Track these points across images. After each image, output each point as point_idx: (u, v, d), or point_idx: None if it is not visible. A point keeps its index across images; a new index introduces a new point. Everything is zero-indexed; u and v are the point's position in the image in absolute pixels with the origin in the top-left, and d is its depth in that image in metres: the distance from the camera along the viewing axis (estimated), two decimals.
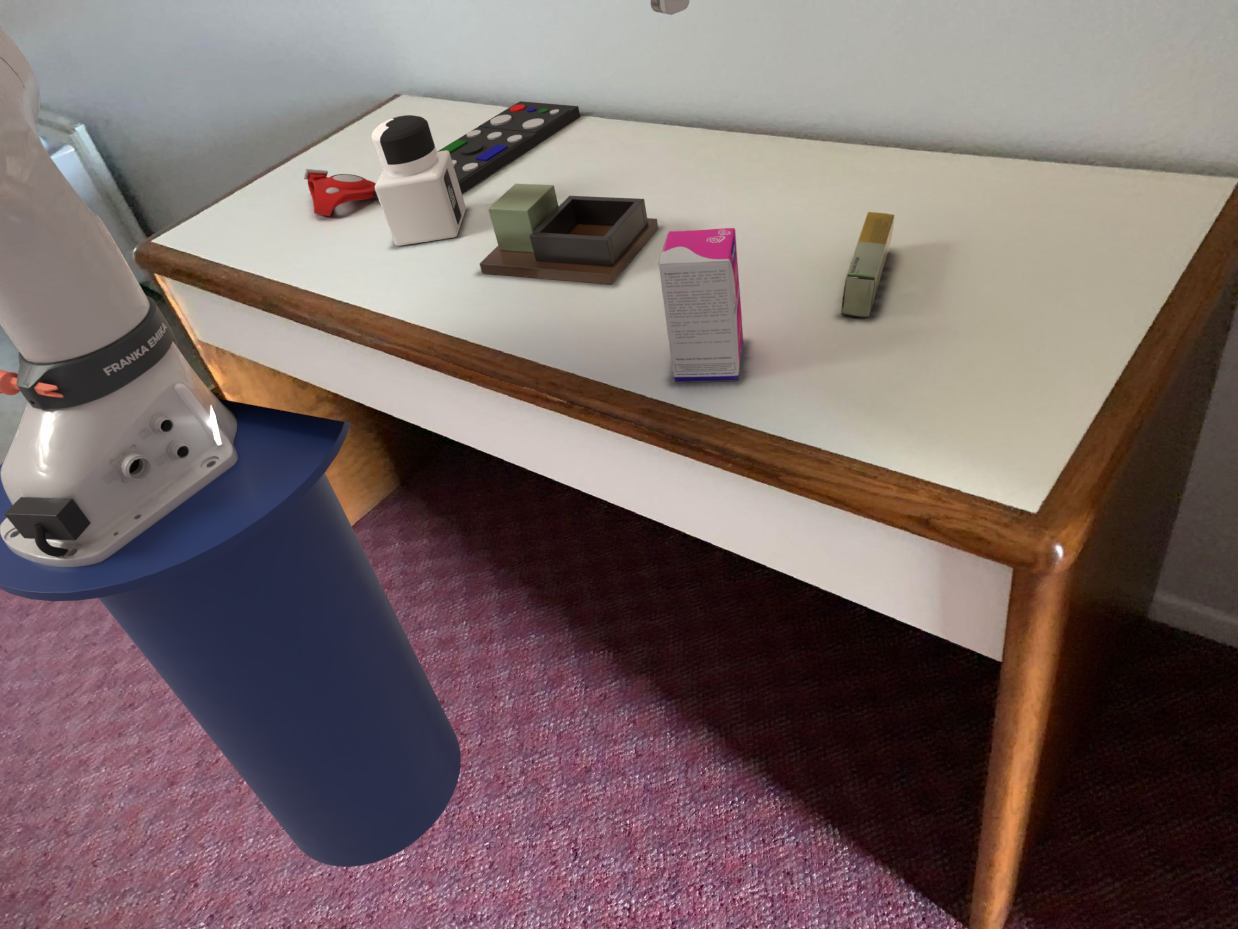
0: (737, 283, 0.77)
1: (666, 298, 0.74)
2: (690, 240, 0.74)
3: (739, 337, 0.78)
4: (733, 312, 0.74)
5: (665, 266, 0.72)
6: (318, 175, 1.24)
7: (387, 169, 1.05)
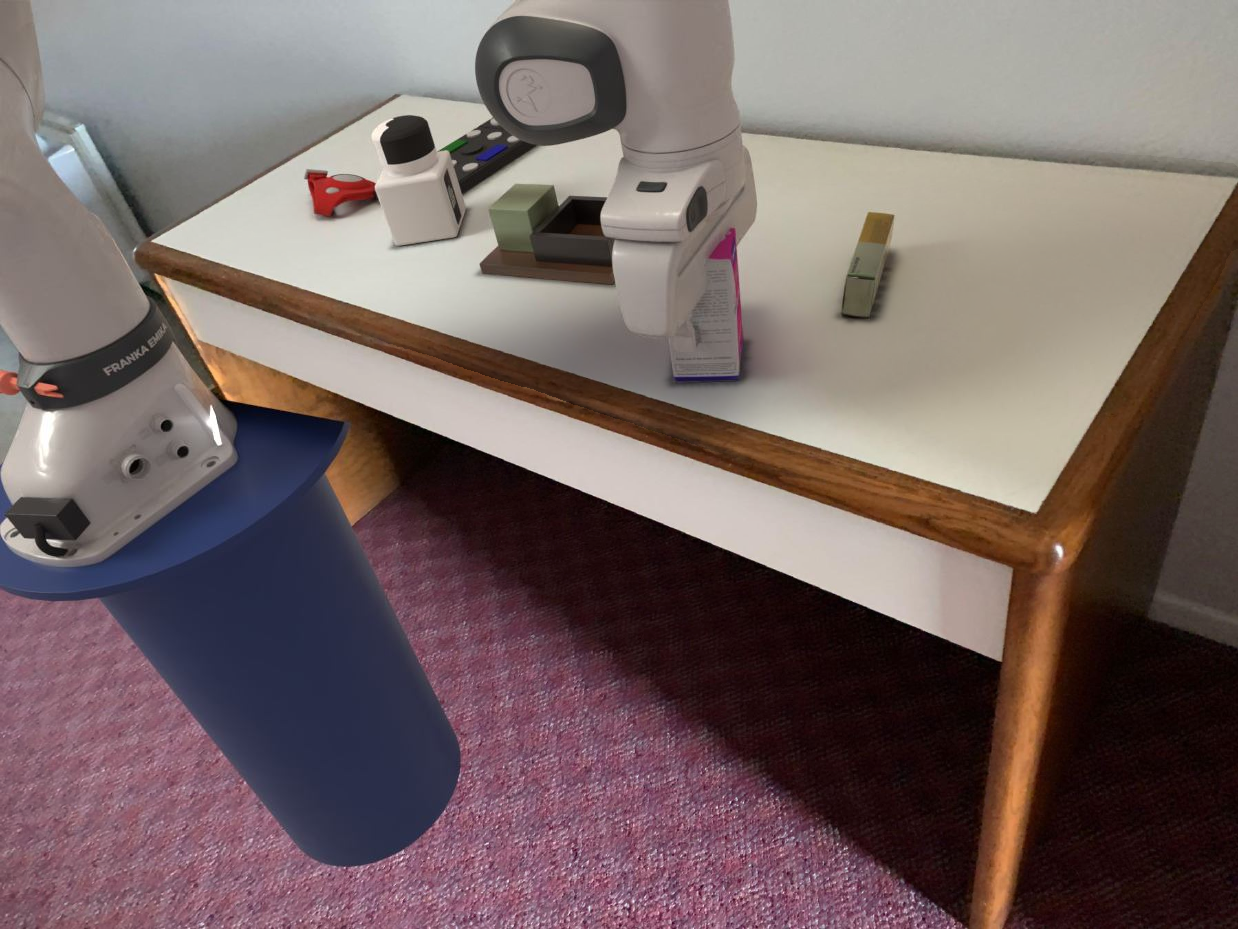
0: (737, 283, 0.77)
1: None
2: None
3: (739, 337, 0.78)
4: (733, 312, 0.74)
5: None
6: (318, 175, 1.24)
7: (387, 169, 1.05)
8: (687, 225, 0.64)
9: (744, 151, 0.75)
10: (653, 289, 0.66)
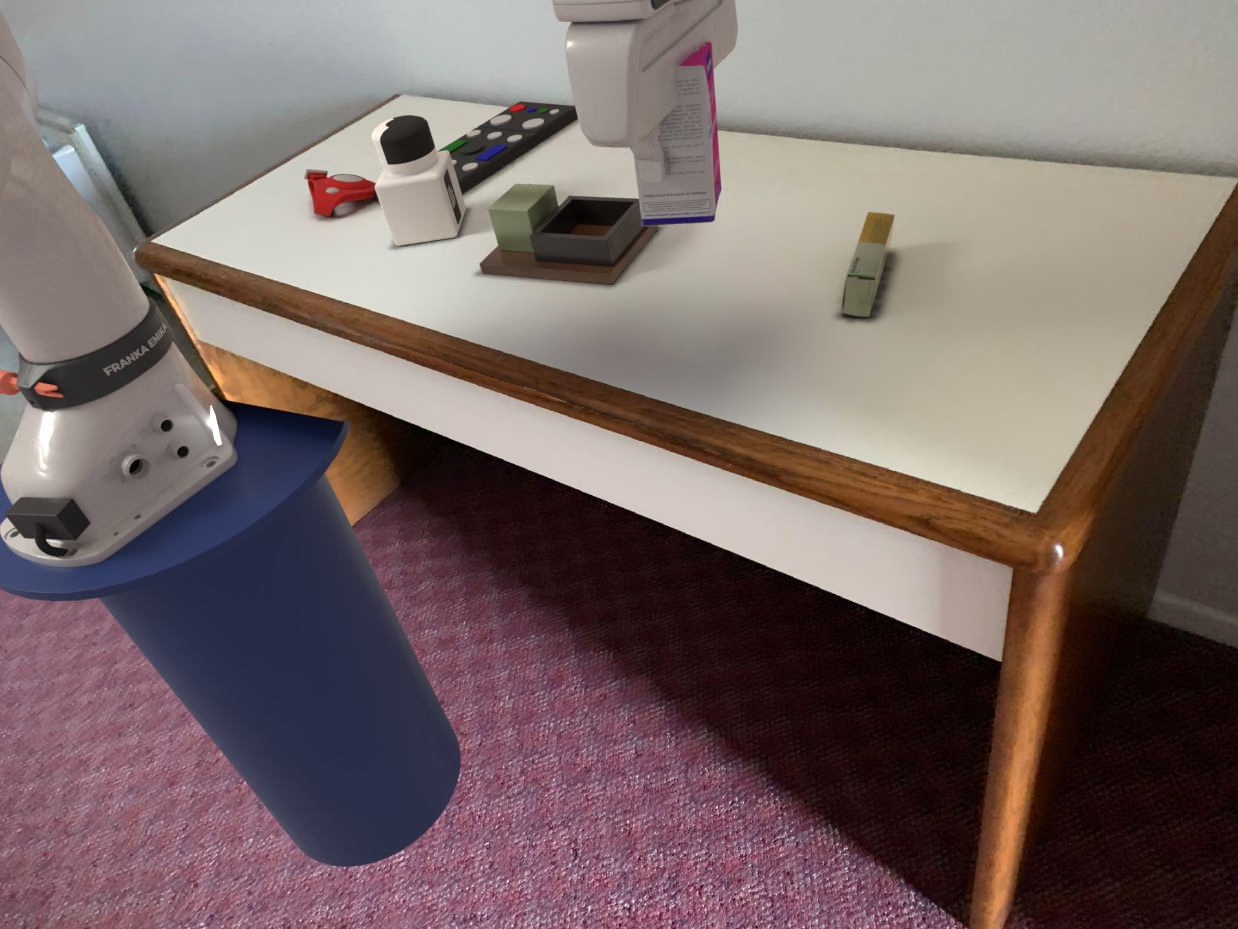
0: (713, 108, 0.68)
1: None
2: None
3: (715, 173, 0.69)
4: (708, 134, 0.65)
5: None
6: (318, 175, 1.24)
7: (387, 169, 1.05)
8: None
9: None
10: (612, 80, 0.57)
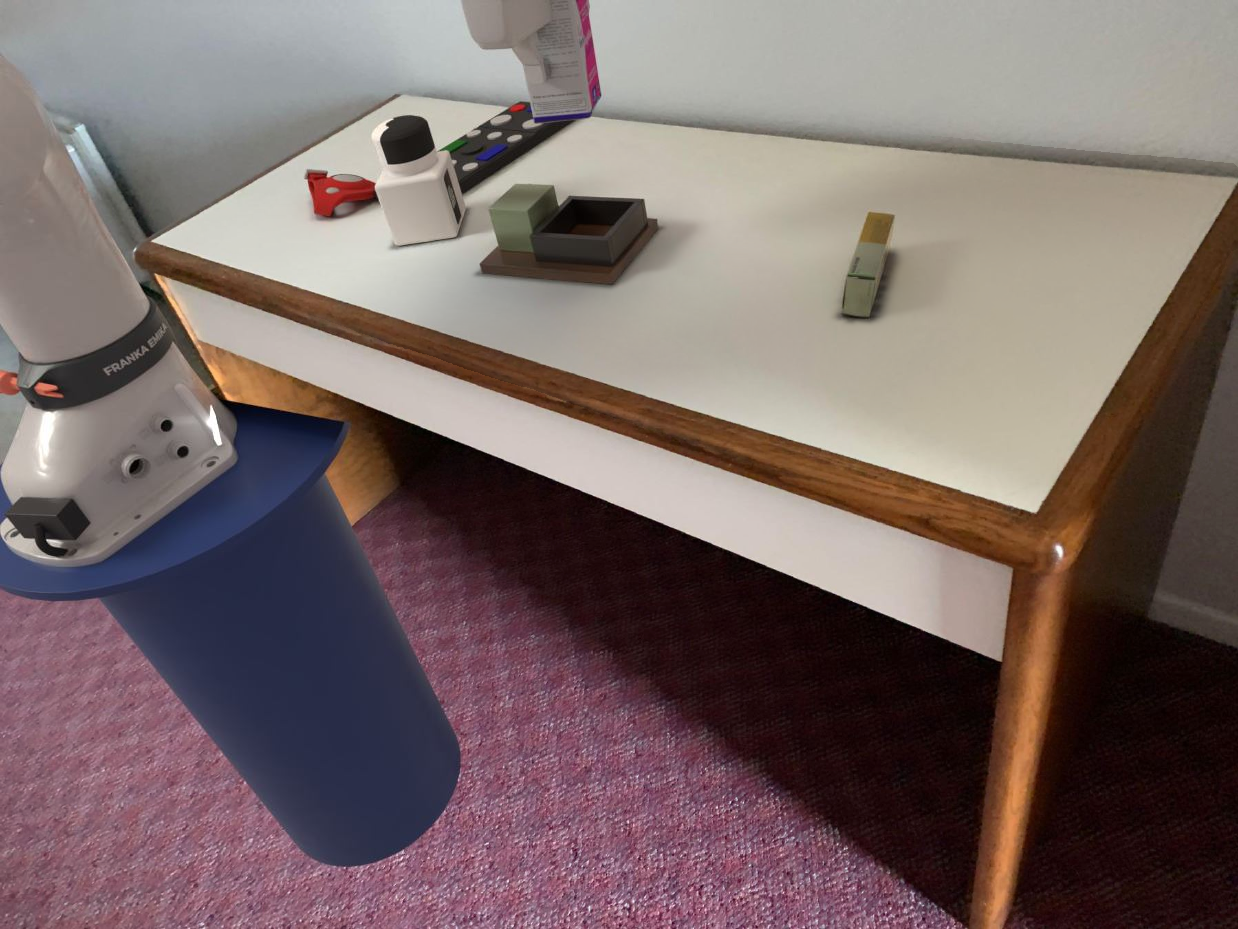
0: (586, 25, 0.85)
1: None
2: None
3: (591, 78, 0.86)
4: (578, 43, 0.82)
5: None
6: (318, 175, 1.24)
7: (387, 169, 1.05)
8: None
9: None
10: None
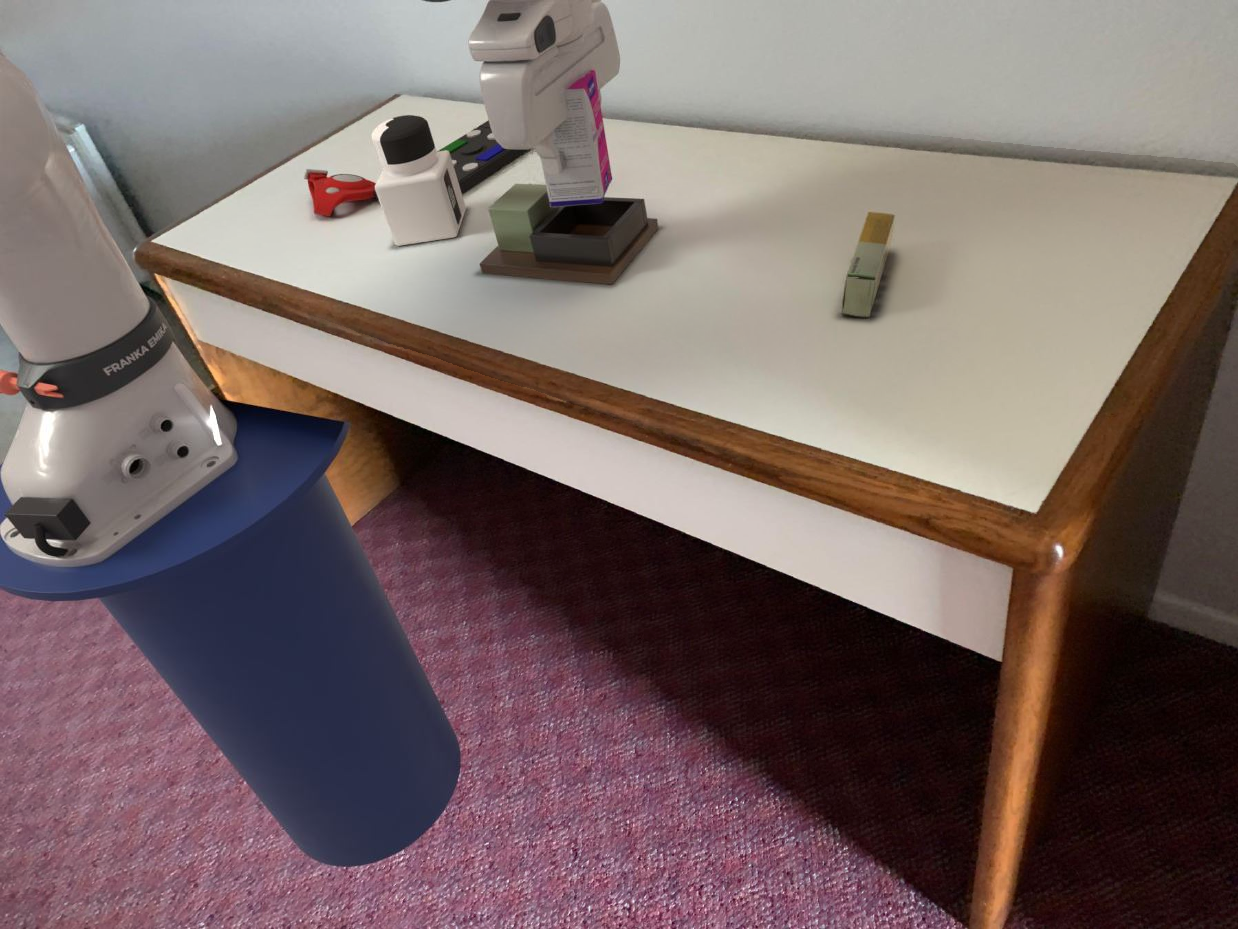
0: (599, 118, 0.92)
1: None
2: None
3: (603, 166, 0.93)
4: (592, 138, 0.89)
5: None
6: (318, 175, 1.24)
7: (387, 169, 1.05)
8: (536, 45, 0.79)
9: (602, 6, 0.90)
10: (512, 102, 0.81)
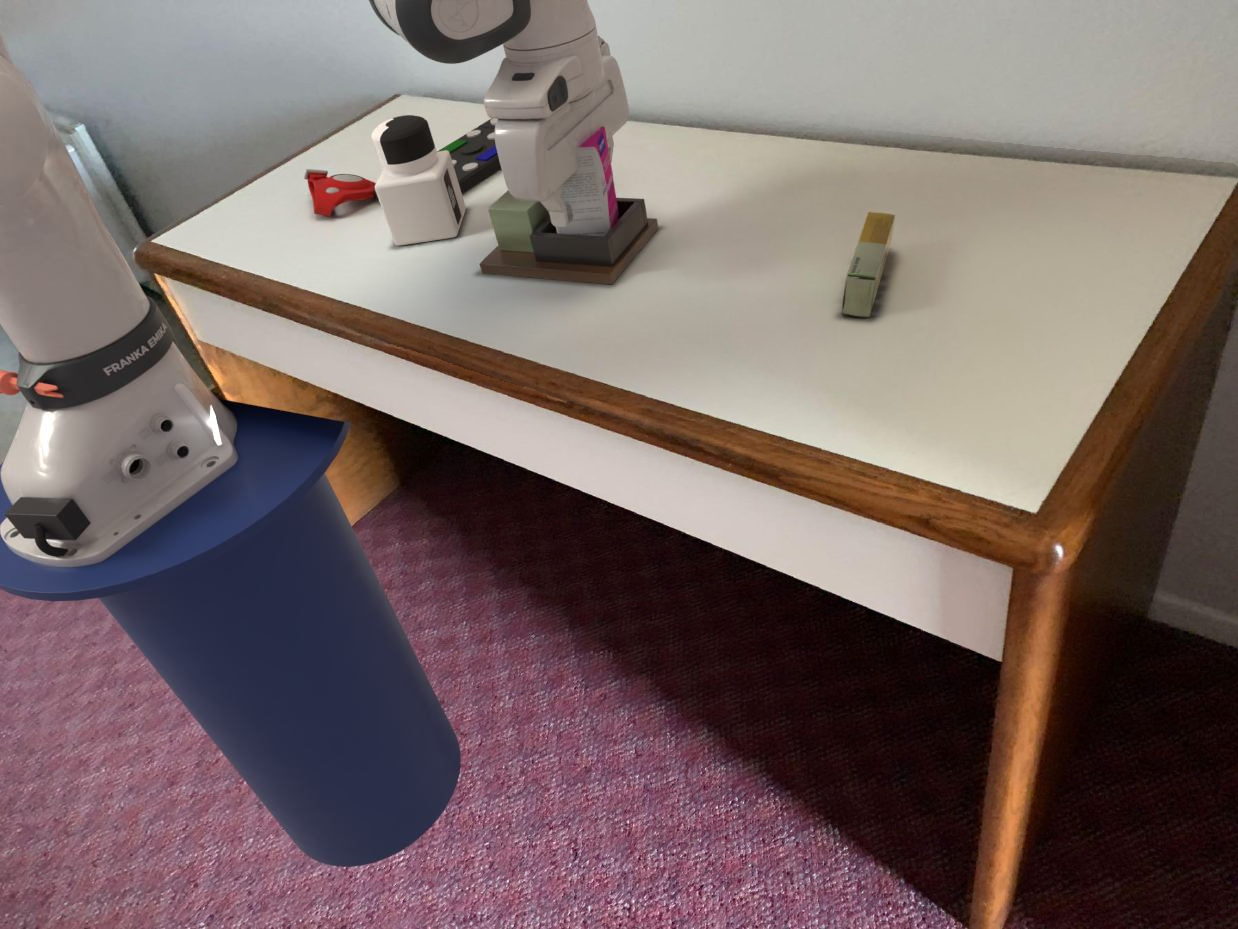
0: (608, 172, 0.95)
1: None
2: None
3: (612, 218, 0.97)
4: (602, 192, 0.93)
5: None
6: (318, 175, 1.24)
7: (387, 169, 1.05)
8: (549, 105, 0.82)
9: (611, 60, 0.94)
10: (526, 158, 0.84)
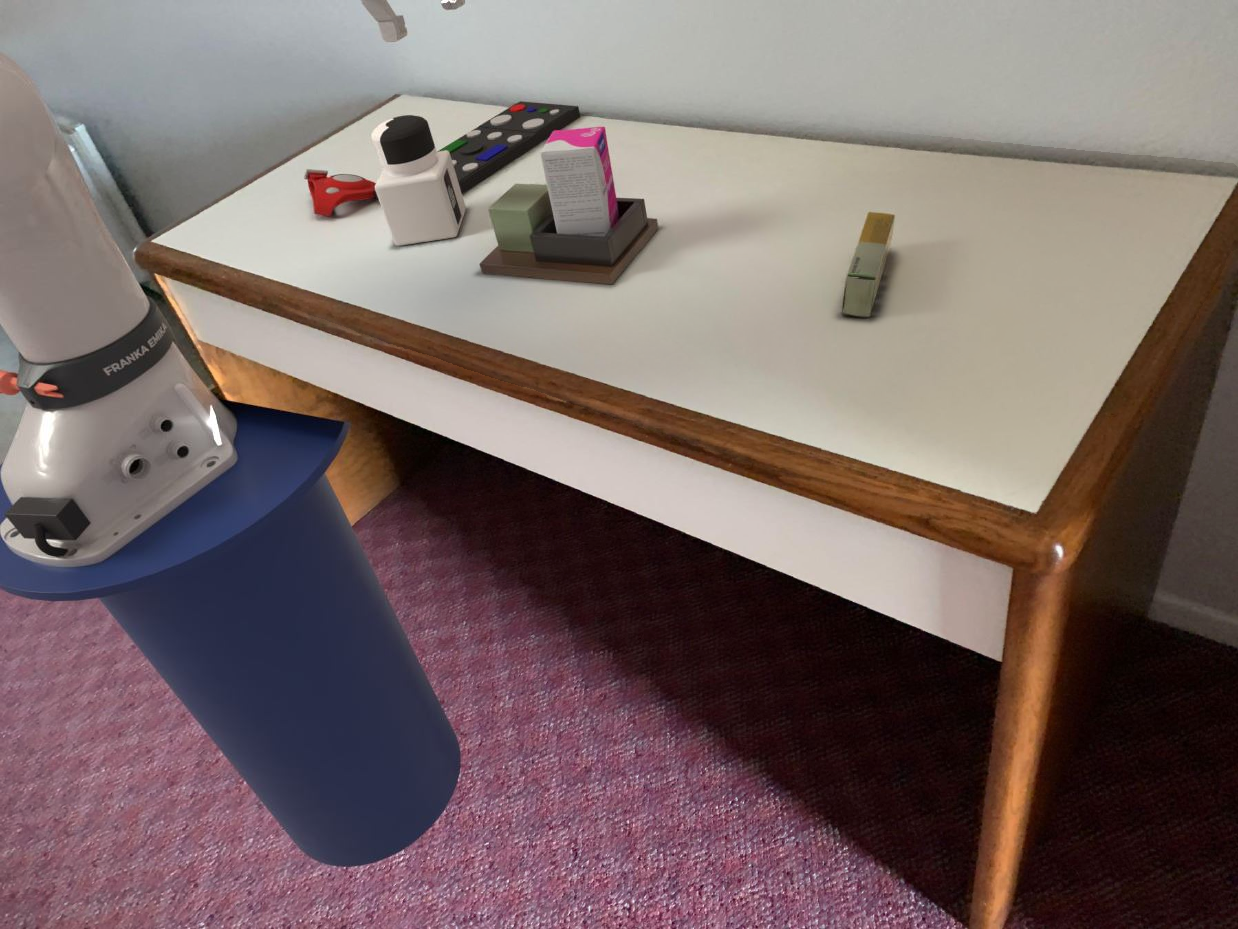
0: (608, 172, 0.95)
1: (548, 181, 0.93)
2: (567, 135, 0.93)
3: (612, 218, 0.97)
4: (602, 192, 0.93)
5: (545, 154, 0.91)
6: (318, 175, 1.24)
7: (387, 169, 1.05)
8: None
9: None
10: None
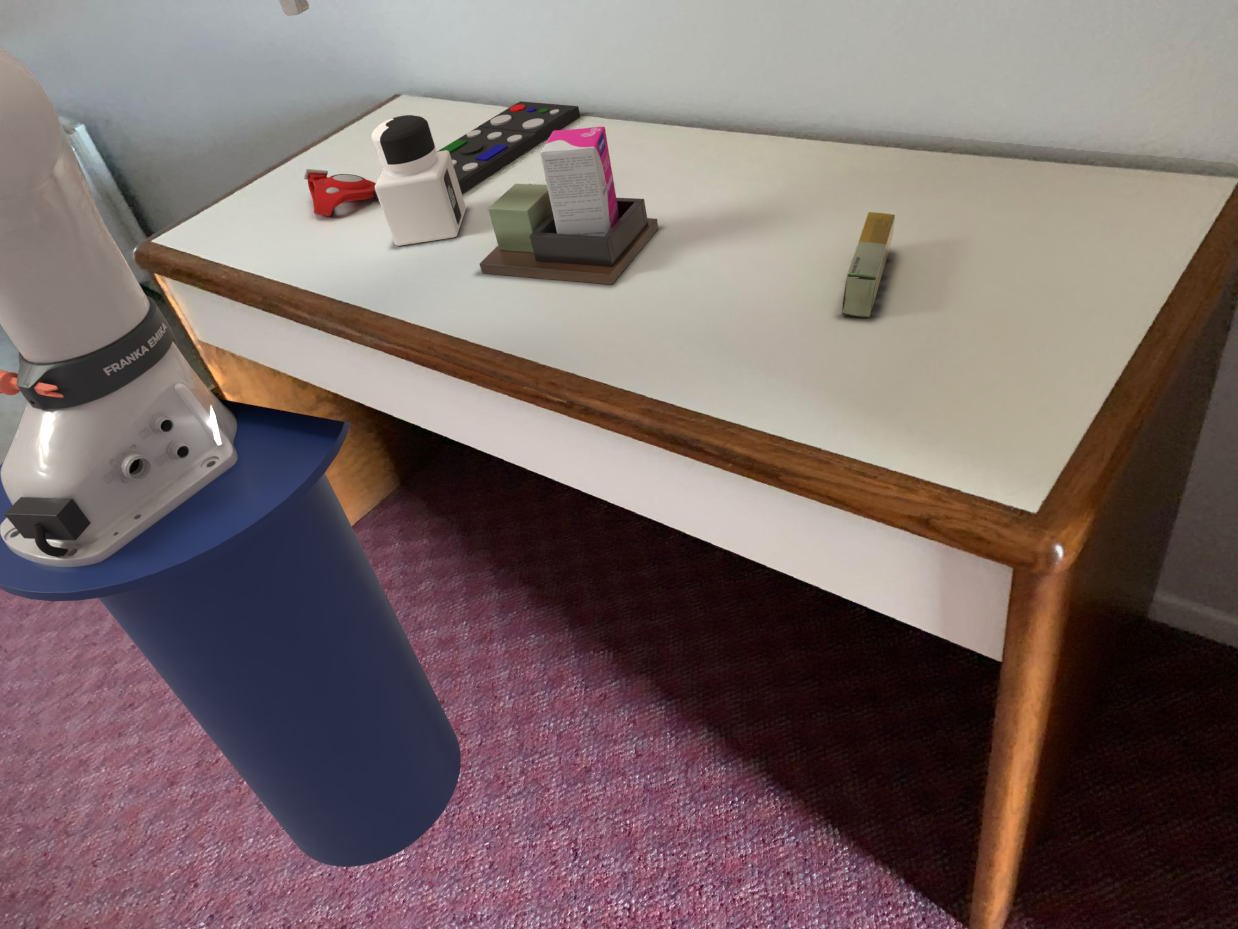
0: (608, 172, 0.95)
1: (548, 181, 0.93)
2: (567, 135, 0.93)
3: (612, 218, 0.97)
4: (602, 192, 0.93)
5: (545, 154, 0.91)
6: (318, 175, 1.24)
7: (387, 169, 1.05)
8: None
9: None
10: None
